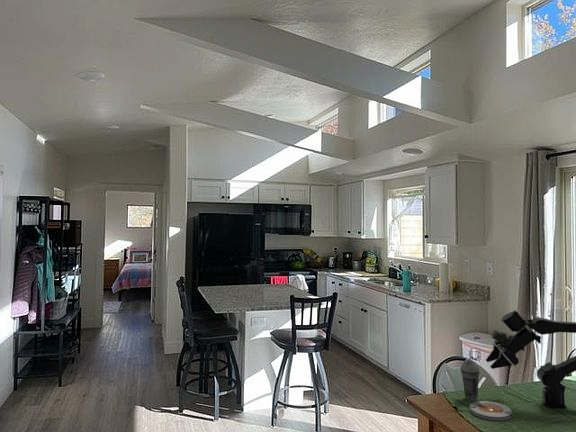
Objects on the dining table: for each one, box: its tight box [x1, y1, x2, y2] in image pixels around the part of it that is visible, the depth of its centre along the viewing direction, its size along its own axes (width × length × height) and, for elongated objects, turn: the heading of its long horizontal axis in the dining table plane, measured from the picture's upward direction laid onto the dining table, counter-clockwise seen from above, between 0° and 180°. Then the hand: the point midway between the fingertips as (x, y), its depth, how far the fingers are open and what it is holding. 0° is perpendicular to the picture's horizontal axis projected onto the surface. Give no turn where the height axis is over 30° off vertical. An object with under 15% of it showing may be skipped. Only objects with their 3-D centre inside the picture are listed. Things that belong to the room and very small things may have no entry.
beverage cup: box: [460, 349, 481, 402], centre depth 173 cm, size 7×7×20 cm
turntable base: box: [468, 405, 514, 422], centre depth 159 cm, size 15×15×1 cm
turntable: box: [469, 400, 512, 418], centre depth 159 cm, size 14×14×1 cm
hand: (488, 364), depth 171 cm, fingers open, 9 cm apart
